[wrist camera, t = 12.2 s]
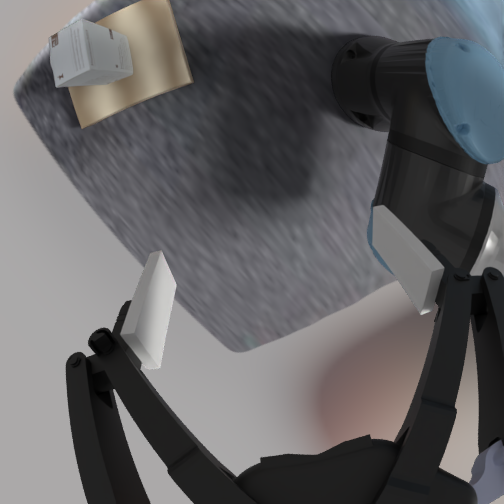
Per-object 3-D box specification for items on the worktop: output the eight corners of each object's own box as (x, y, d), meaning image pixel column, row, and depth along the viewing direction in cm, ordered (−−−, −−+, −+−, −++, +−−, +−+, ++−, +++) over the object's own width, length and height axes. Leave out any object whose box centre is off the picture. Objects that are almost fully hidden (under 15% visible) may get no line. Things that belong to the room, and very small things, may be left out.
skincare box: (135, 74, 28) (94, 71, 17) (104, 86, 28) (54, 91, 17) (127, 33, 24) (84, 15, 14) (96, 46, 24) (46, 37, 14)
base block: (169, 0, 25) (163, -8, 21) (194, 82, 32) (190, 81, 29) (70, 47, 26) (57, 46, 23) (93, 124, 34) (81, 128, 30)
